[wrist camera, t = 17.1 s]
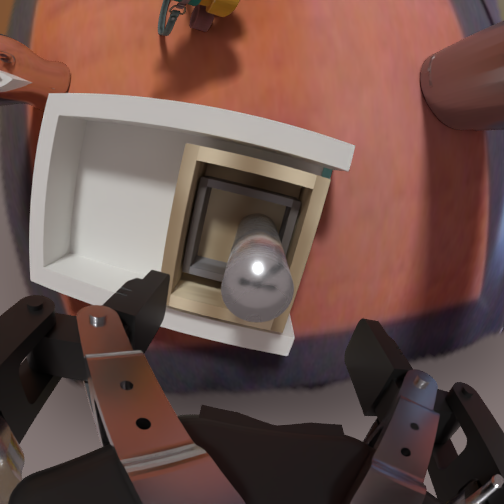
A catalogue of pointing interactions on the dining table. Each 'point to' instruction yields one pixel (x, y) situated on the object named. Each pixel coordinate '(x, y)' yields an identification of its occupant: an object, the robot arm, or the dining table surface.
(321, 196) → the box
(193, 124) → the bay
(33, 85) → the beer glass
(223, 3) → the binoculars
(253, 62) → the dining table surface
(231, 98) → the dining table surface
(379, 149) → the dining table surface
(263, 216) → the handle peg
